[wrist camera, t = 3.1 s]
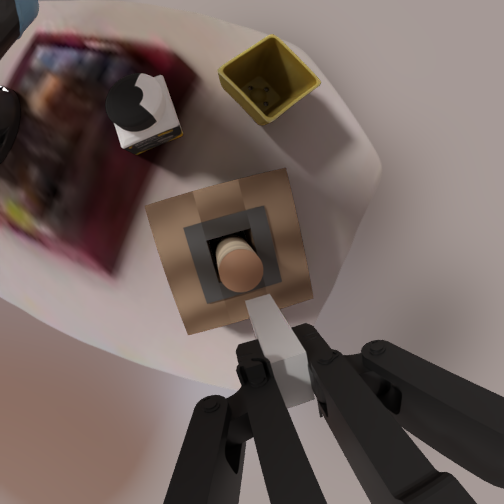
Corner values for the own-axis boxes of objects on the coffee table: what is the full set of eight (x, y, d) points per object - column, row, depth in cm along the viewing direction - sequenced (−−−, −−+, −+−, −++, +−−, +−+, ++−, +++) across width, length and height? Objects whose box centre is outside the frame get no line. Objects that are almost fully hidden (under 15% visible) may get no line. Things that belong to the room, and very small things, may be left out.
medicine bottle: (135, 156, 35) (107, 143, 23) (121, 111, 33) (91, 84, 22) (184, 136, 36) (175, 113, 24) (168, 92, 34) (156, 56, 22)
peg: (211, 240, 33) (213, 256, 25) (244, 231, 33) (257, 244, 25) (220, 272, 34) (225, 297, 26) (253, 263, 34) (267, 285, 26)
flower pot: (255, 138, 37) (269, 124, 28) (212, 94, 35) (215, 69, 26) (299, 102, 37) (323, 82, 28) (259, 60, 35) (273, 32, 26)
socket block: (156, 202, 37) (143, 206, 29) (269, 171, 38) (286, 167, 30) (190, 309, 41) (188, 336, 33) (294, 278, 42) (314, 299, 34)
